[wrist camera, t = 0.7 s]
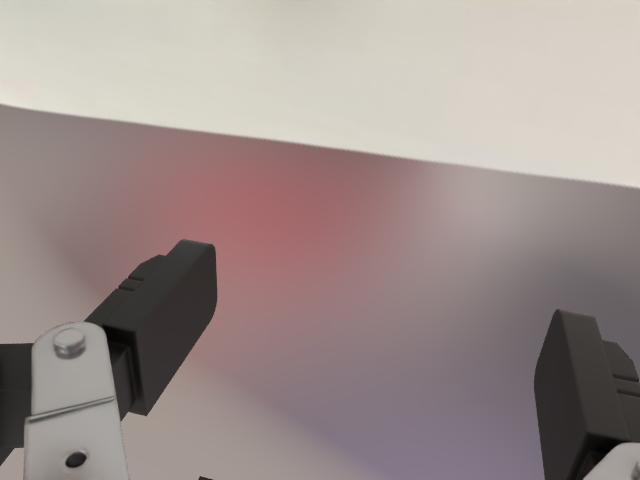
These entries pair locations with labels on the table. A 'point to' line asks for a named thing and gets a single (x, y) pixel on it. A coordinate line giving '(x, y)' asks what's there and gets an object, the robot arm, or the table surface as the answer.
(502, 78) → the table surface
